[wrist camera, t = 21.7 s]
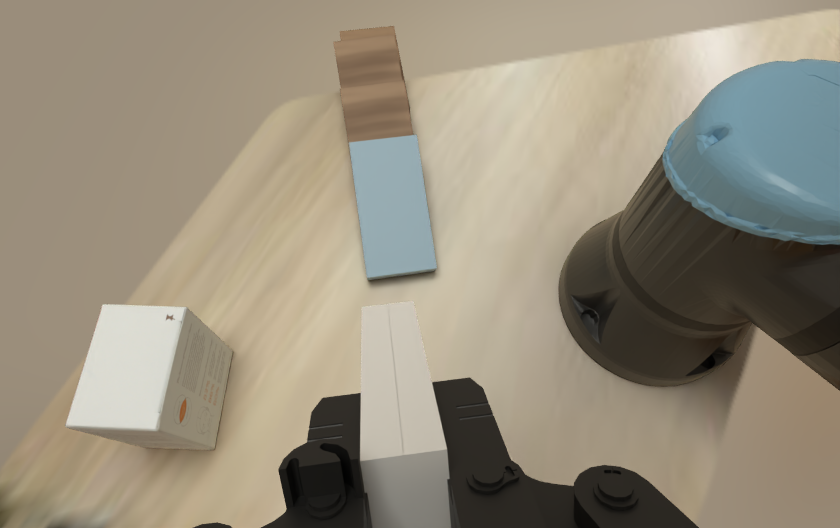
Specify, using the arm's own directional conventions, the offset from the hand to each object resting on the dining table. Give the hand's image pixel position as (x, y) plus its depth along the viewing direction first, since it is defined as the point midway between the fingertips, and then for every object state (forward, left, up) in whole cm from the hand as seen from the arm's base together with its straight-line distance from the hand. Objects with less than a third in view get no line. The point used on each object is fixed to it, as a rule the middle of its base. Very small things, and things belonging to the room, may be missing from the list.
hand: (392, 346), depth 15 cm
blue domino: (+6, -14, -27) cm, 30 cm away
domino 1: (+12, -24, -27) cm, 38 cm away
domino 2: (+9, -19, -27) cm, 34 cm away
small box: (+17, +2, -28) cm, 33 cm away
